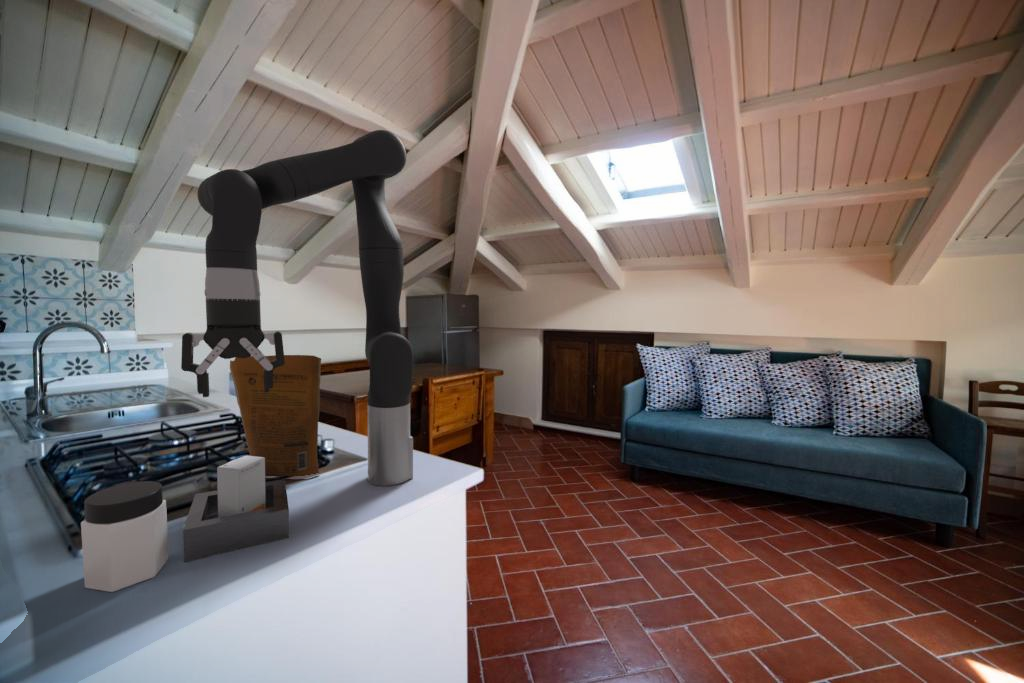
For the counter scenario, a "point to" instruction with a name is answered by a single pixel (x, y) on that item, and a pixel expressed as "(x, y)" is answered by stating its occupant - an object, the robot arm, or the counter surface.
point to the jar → (124, 535)
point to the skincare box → (241, 486)
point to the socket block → (234, 524)
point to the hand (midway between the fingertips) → (237, 393)
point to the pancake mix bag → (280, 412)
